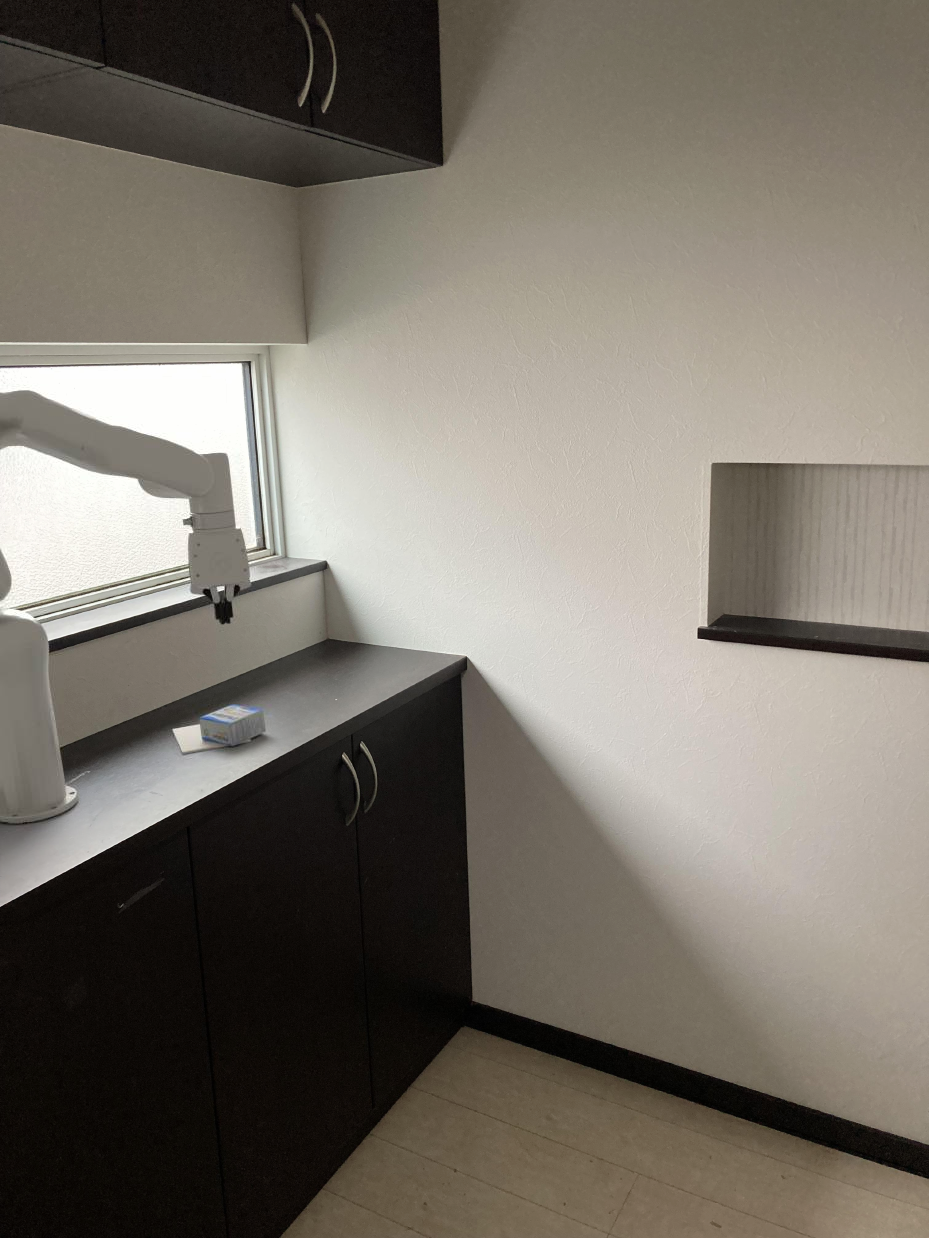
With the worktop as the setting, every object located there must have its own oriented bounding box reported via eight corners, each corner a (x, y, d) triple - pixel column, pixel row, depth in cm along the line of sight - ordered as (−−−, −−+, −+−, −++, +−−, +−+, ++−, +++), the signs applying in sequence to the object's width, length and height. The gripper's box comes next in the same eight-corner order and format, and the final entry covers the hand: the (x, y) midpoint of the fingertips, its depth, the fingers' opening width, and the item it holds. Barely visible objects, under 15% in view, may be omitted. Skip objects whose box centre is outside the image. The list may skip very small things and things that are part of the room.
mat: (182, 754, 179) (182, 752, 179) (172, 731, 191) (172, 729, 191) (251, 741, 183) (250, 739, 183) (236, 719, 196) (236, 717, 196)
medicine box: (264, 708, 185) (229, 722, 178) (266, 732, 186) (231, 747, 179) (233, 703, 190) (198, 717, 183) (236, 726, 191) (200, 740, 184)
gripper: (172, 528, 174) (185, 632, 178) (260, 519, 179) (270, 621, 183) (167, 523, 181) (179, 624, 185) (251, 515, 186) (261, 613, 190)
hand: (224, 622), depth 184 cm, fingers closed
